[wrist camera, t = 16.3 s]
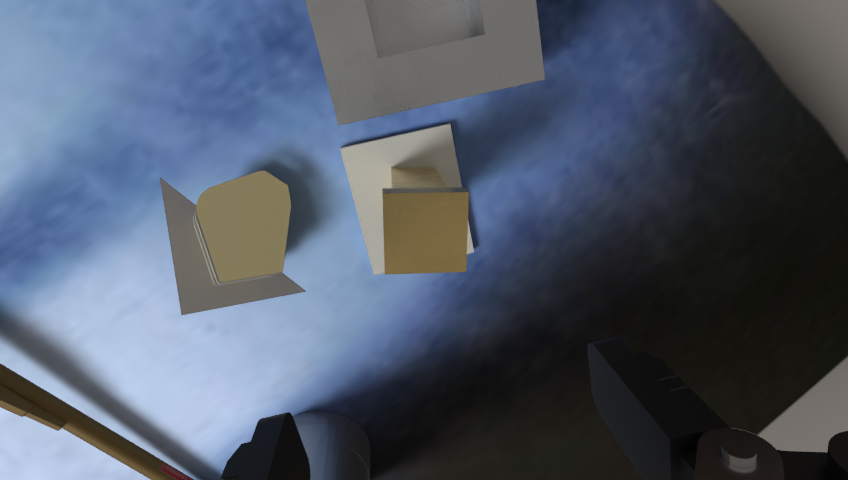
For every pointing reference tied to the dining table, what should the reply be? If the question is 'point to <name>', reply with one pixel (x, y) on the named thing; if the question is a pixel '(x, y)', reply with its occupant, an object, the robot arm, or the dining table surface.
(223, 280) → the stacked layers on plate
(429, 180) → the capped wooden post
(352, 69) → the block
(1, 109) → the dining table surface
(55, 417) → the panzerfaust rocket launcher
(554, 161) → the dining table surface
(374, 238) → the mat
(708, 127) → the dining table surface
